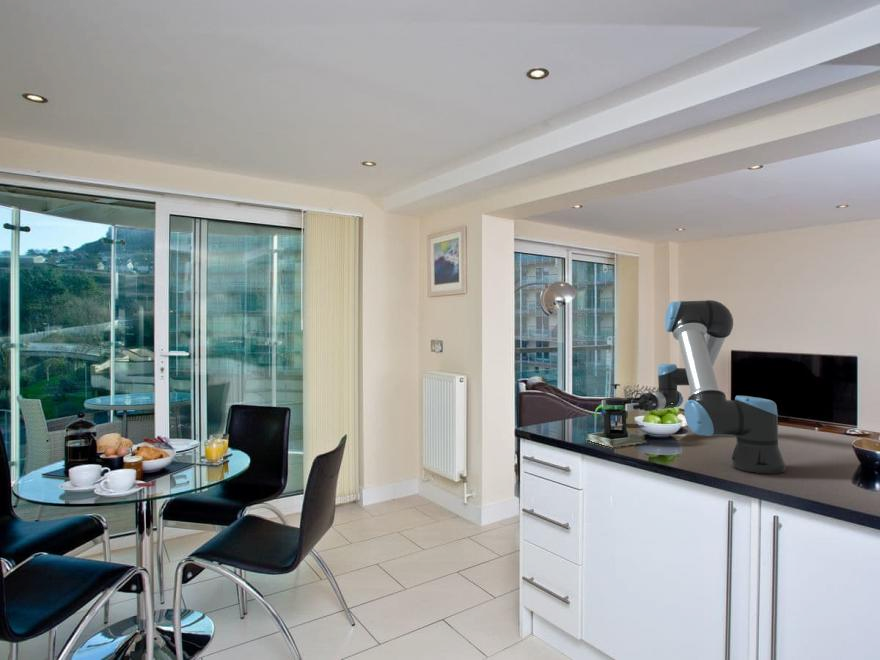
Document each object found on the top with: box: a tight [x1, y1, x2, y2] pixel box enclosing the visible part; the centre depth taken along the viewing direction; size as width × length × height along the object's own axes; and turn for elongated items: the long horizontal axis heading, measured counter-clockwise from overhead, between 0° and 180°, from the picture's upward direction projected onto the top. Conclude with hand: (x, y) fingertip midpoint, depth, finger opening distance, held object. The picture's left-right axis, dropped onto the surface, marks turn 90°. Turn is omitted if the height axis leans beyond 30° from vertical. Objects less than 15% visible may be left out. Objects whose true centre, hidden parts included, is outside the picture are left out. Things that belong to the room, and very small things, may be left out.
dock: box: [584, 431, 647, 449], centre depth 210 cm, size 16×18×3 cm
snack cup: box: [594, 403, 629, 425], centre depth 245 cm, size 16×10×10 cm
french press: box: [603, 383, 629, 440], centre depth 210 cm, size 12×9×23 cm
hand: (613, 405), depth 210 cm, fingers open, 13 cm apart
